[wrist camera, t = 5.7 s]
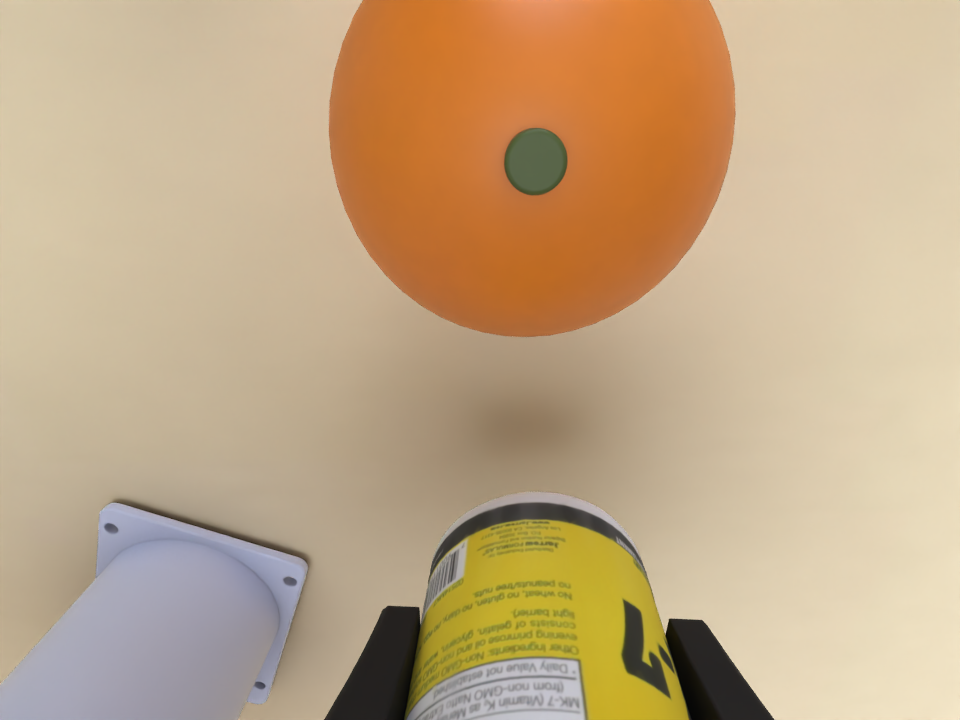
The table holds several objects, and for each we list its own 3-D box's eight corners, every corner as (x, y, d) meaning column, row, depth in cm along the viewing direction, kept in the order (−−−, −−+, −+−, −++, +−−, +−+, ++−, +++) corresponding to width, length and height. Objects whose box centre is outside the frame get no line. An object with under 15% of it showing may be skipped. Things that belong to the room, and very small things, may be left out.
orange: (588, 315, 16) (660, 482, 8) (349, 225, 15) (198, 324, 8) (721, 43, 13) (1021, -68, 5) (430, -87, 12) (305, -433, 4)
